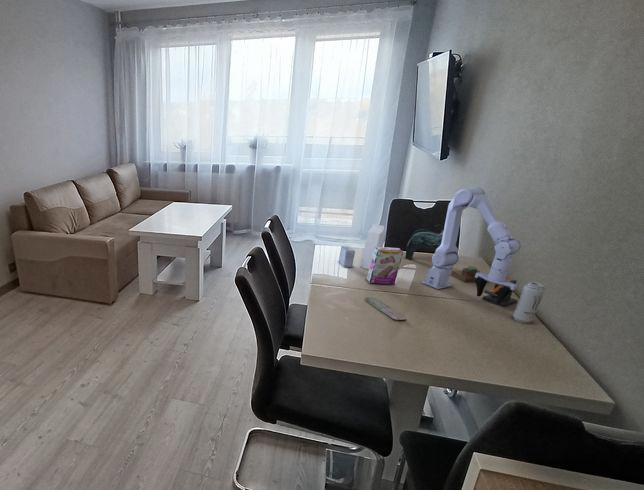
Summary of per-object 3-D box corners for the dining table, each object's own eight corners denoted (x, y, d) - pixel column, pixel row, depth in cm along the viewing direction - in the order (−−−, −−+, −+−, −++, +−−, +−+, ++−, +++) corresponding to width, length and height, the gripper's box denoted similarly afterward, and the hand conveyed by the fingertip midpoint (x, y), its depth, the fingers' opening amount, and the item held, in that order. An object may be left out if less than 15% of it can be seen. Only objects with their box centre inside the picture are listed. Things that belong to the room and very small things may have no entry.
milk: (371, 270, 203) (381, 227, 194) (360, 267, 207) (369, 224, 198) (377, 268, 206) (388, 225, 197) (366, 264, 211) (376, 222, 202)
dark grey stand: (502, 306, 169) (510, 284, 165) (482, 298, 175) (489, 277, 171) (516, 302, 173) (524, 280, 169) (496, 295, 179) (503, 274, 175)
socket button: (470, 272, 194) (471, 269, 193) (464, 269, 197) (465, 266, 196) (478, 272, 194) (479, 269, 193) (472, 269, 198) (473, 266, 197)
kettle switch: (496, 299, 167) (497, 294, 166) (483, 294, 171) (484, 289, 170) (514, 286, 170) (514, 281, 168) (501, 281, 174) (501, 277, 173)
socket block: (464, 282, 192) (466, 274, 191) (450, 274, 200) (453, 267, 199) (487, 281, 194) (490, 273, 192) (473, 274, 202) (476, 266, 200)
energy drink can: (523, 324, 155) (538, 288, 149) (508, 317, 160) (522, 281, 154) (535, 322, 156) (551, 286, 150) (519, 315, 161) (534, 280, 155)
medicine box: (352, 267, 206) (355, 251, 203) (343, 267, 207) (346, 250, 203) (346, 262, 214) (349, 246, 210) (338, 261, 214) (341, 245, 210)
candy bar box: (369, 284, 187) (377, 249, 181) (366, 279, 192) (373, 246, 185) (395, 285, 186) (404, 251, 180) (391, 281, 191) (399, 247, 184)
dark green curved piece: (446, 263, 215) (458, 226, 207) (446, 267, 210) (457, 229, 202) (404, 256, 225) (413, 220, 217) (403, 259, 220) (412, 222, 212)
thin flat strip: (373, 298, 174) (373, 296, 173) (407, 319, 155) (407, 317, 155) (362, 299, 173) (362, 297, 173) (395, 320, 154) (395, 318, 154)
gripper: (525, 273, 160) (513, 304, 165) (486, 261, 172) (476, 291, 177) (515, 276, 157) (503, 308, 162) (476, 263, 169) (466, 293, 174)
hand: (488, 299), depth 170 cm, fingers open, 7 cm apart
